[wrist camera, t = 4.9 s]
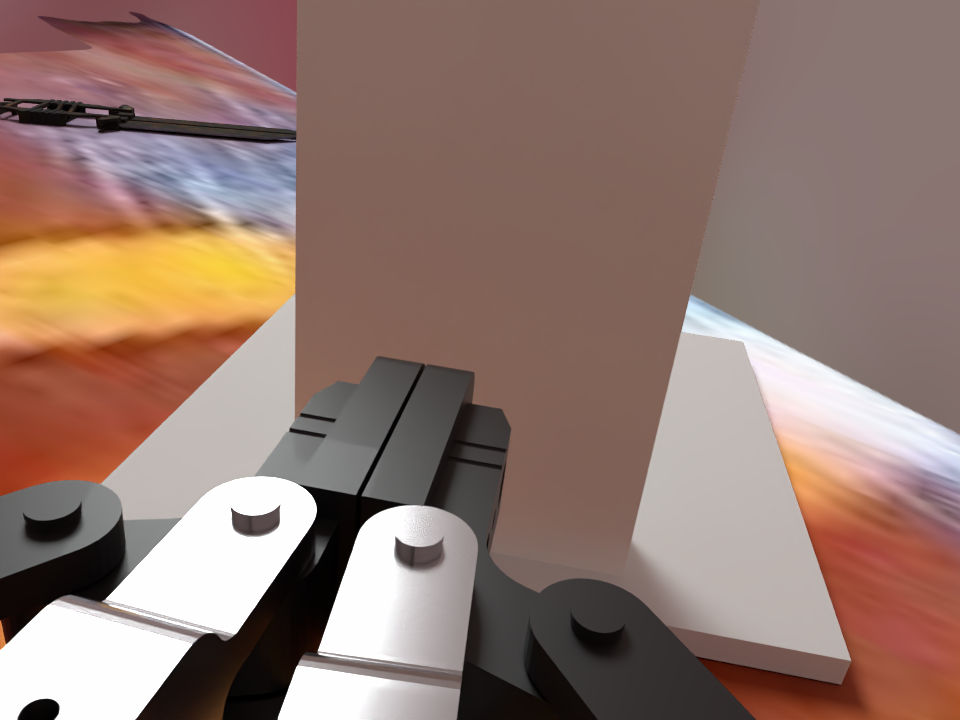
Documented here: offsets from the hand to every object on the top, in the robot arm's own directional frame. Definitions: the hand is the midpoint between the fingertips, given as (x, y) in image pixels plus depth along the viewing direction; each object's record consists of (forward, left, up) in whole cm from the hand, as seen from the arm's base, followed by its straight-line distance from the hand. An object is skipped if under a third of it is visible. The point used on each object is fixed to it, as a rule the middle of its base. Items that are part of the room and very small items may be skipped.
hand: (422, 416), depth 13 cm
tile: (0, +8, -8) cm, 11 cm away
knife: (-33, +52, -9) cm, 62 cm away
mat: (0, +14, -9) cm, 17 cm away
